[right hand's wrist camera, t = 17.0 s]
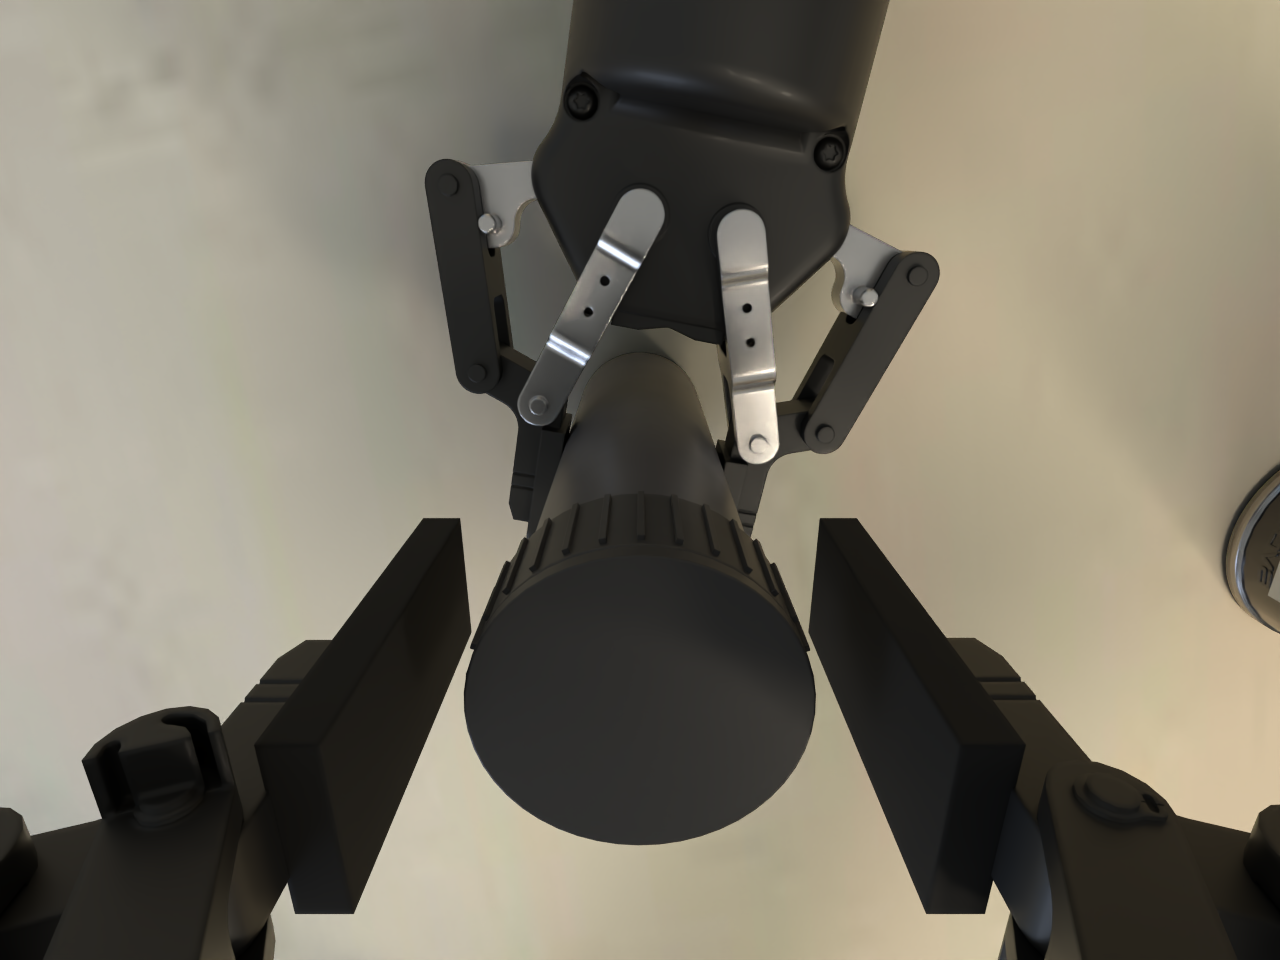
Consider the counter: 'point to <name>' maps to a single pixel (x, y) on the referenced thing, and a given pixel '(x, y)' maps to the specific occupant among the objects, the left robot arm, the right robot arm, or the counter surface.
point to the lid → (639, 673)
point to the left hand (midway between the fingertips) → (624, 542)
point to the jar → (639, 440)
